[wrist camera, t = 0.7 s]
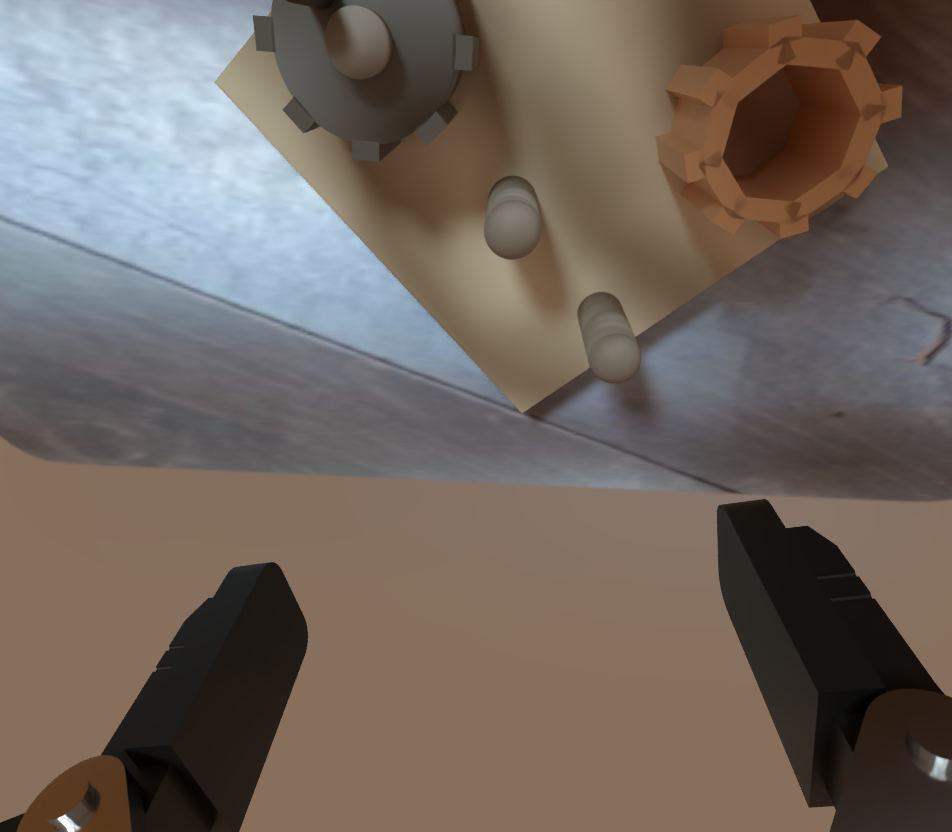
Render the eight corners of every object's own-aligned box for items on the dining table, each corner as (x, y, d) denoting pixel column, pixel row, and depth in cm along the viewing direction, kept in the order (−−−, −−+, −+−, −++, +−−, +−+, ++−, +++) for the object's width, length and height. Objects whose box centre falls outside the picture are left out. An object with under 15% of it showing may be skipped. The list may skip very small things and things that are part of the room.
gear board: (604, -371, 18) (674, -692, 10) (862, 158, 25) (1019, 207, 17) (235, 79, 24) (108, 94, 17) (521, 393, 31) (524, 504, 24)
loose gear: (784, -23, 20) (848, -40, 16) (859, 132, 22) (930, 150, 19) (626, 110, 22) (650, 123, 19) (709, 238, 25) (744, 273, 21)
